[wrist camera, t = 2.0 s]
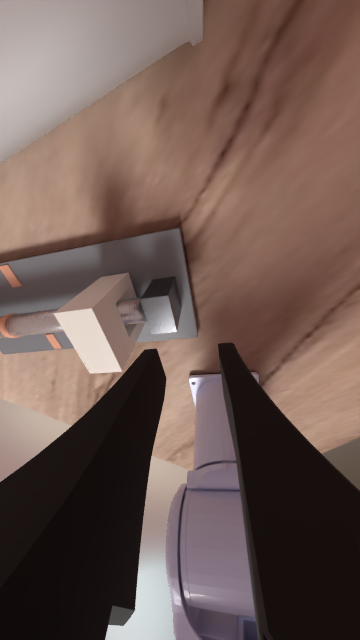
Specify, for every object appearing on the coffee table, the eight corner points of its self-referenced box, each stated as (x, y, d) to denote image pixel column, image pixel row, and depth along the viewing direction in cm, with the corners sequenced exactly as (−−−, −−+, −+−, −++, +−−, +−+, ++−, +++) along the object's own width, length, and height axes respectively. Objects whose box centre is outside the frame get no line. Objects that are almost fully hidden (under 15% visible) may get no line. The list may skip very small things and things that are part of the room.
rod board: (198, 332, 20) (196, 364, 16) (9, 350, 24) (-28, 378, 20) (180, 226, 15) (171, 236, 11) (-55, 273, 19) (-122, 292, 15)
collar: (145, 322, 18) (122, 371, 13) (121, 325, 19) (90, 373, 14) (128, 272, 16) (91, 308, 11) (101, 276, 16) (53, 313, 11)
